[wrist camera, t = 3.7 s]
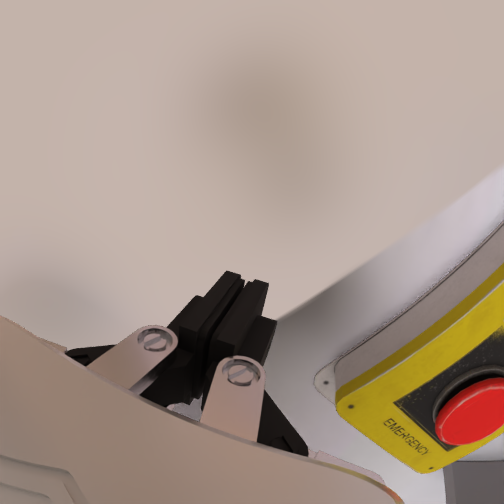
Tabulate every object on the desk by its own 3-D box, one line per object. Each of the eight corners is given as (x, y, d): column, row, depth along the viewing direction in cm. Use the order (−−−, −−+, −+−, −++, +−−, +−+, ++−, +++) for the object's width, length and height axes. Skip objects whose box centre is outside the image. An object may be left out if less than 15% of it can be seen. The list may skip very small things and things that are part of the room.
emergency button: (290, 438, 11) (600, 188, 5) (306, 372, 15) (539, 170, 9) (400, 504, 12) (626, 344, 5) (400, 448, 15) (589, 304, 9)
